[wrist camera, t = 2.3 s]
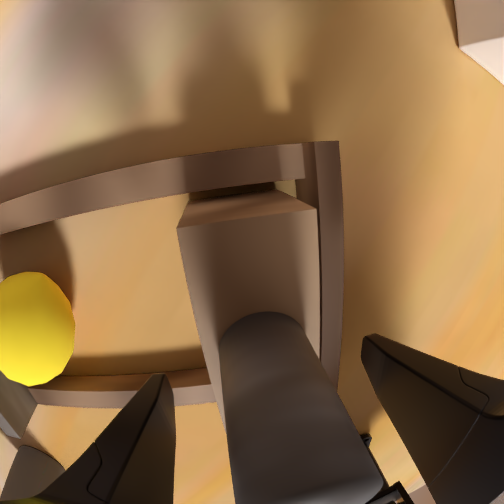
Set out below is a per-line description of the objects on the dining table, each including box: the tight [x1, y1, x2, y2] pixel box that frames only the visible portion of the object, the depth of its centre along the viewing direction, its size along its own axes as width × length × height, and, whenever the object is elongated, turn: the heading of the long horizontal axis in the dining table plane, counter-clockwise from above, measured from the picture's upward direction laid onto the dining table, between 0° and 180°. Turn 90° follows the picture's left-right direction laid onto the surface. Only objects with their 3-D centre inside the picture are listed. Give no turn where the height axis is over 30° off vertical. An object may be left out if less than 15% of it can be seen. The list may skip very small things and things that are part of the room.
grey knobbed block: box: [176, 189, 383, 504], centre depth 9 cm, size 4×9×11 cm, turn 6°
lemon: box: [0, 272, 75, 386], centre depth 11 cm, size 7×5×5 cm
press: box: [0, 141, 344, 439], centre depth 12 cm, size 21×13×5 cm, turn 96°
